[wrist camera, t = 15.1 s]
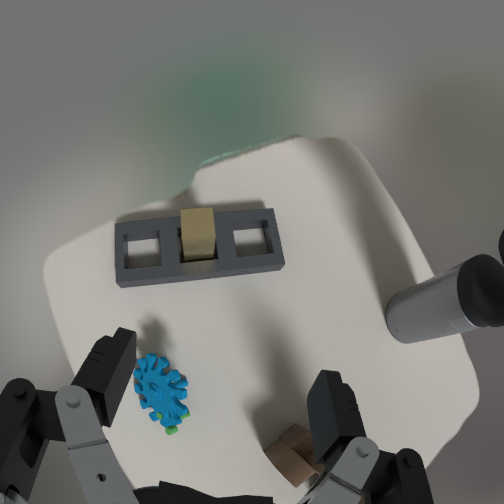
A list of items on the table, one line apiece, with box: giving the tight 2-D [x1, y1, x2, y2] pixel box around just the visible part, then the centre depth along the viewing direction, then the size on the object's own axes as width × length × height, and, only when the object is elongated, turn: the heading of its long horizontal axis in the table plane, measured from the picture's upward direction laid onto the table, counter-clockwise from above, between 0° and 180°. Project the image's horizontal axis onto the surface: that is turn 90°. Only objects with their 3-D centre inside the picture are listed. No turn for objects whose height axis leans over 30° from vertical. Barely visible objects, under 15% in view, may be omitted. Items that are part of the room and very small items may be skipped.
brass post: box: [180, 207, 216, 263], centre depth 42 cm, size 4×4×10 cm
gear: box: [133, 353, 190, 435], centre depth 36 cm, size 11×6×10 cm
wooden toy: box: [264, 424, 365, 504], centre depth 25 cm, size 15×7×25 cm, turn 40°
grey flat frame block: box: [115, 208, 285, 288], centre depth 45 cm, size 24×9×3 cm, turn 100°
